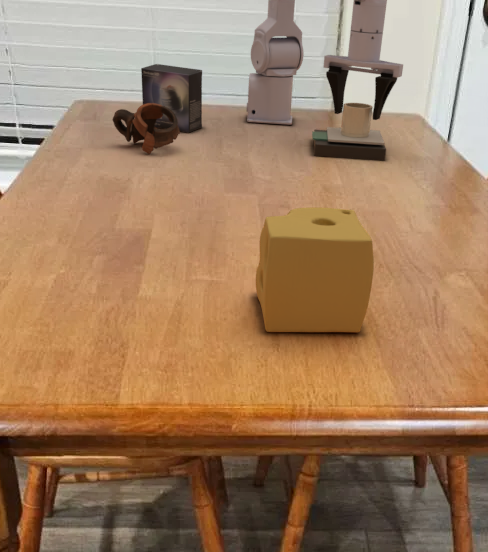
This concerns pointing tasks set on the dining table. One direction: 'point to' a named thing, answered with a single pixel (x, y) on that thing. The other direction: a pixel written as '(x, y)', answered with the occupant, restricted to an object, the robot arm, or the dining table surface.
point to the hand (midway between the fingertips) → (357, 116)
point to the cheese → (314, 271)
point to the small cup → (356, 120)
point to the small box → (174, 94)
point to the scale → (348, 145)
